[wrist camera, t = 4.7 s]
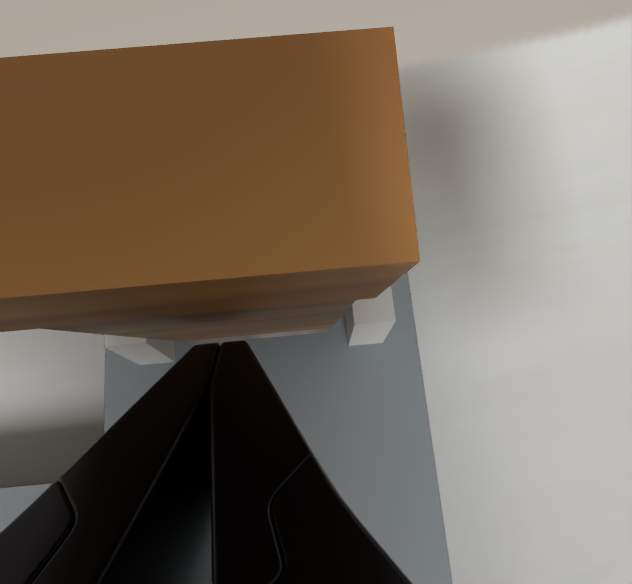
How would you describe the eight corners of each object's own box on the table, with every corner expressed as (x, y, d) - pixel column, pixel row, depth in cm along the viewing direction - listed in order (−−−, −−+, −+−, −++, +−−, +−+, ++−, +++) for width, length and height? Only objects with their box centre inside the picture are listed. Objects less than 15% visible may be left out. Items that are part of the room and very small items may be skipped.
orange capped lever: (333, 332, 16) (418, 262, 4) (185, 346, 16) (-248, 320, 4) (328, 277, 16) (393, 27, 4) (182, 290, 16) (-244, 78, 4)
